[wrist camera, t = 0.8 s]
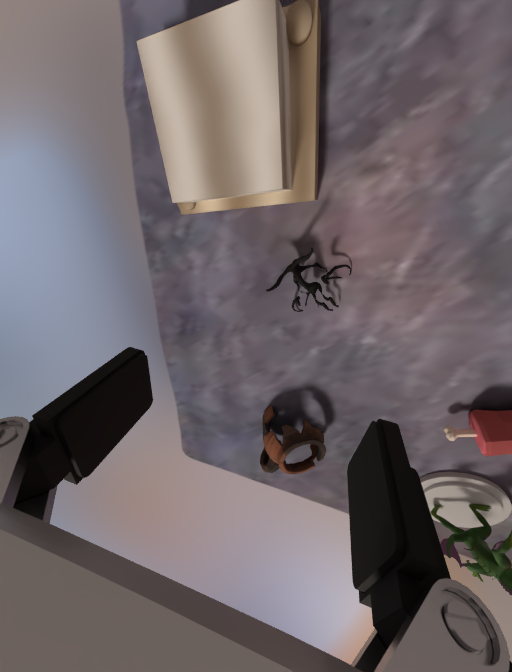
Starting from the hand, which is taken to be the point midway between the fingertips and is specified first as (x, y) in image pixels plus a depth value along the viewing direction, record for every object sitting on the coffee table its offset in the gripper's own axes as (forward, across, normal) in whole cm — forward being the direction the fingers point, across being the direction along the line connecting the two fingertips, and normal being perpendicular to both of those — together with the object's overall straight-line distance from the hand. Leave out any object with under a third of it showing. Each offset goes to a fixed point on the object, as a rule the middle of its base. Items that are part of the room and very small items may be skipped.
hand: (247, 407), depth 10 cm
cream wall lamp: (+22, +8, -12) cm, 26 cm away
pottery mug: (+22, -3, +25) cm, 34 cm away
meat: (+21, -26, +12) cm, 35 cm away
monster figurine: (+21, -30, +28) cm, 46 cm away
